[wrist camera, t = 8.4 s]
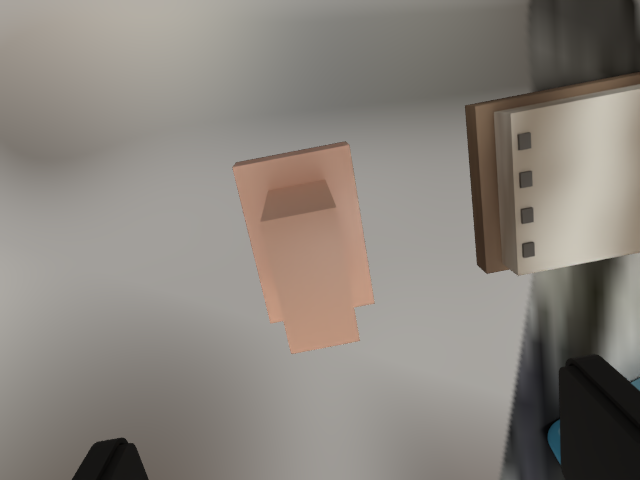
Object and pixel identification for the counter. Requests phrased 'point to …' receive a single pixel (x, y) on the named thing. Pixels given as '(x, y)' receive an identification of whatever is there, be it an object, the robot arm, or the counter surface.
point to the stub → (307, 242)
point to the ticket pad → (556, 175)
